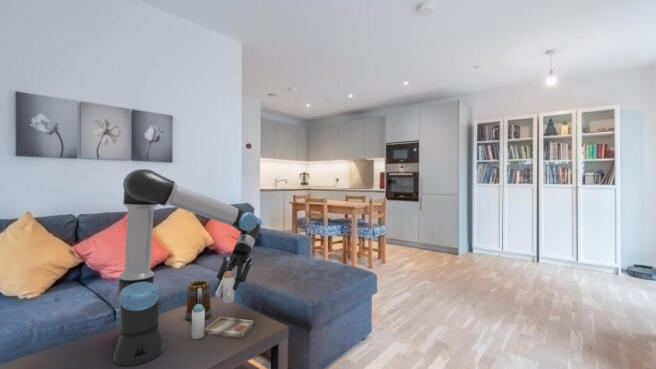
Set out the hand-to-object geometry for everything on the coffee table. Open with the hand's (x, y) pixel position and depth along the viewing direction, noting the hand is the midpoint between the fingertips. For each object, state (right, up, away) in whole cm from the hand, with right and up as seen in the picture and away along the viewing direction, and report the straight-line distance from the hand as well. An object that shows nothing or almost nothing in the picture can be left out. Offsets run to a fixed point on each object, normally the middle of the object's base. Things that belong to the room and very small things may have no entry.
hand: (223, 296), depth 125 cm
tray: (+1, -15, +4) cm, 15 cm away
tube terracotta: (+1, -3, +4) cm, 5 cm away
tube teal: (-9, -15, -2) cm, 17 cm away
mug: (-15, -15, +12) cm, 24 cm away
